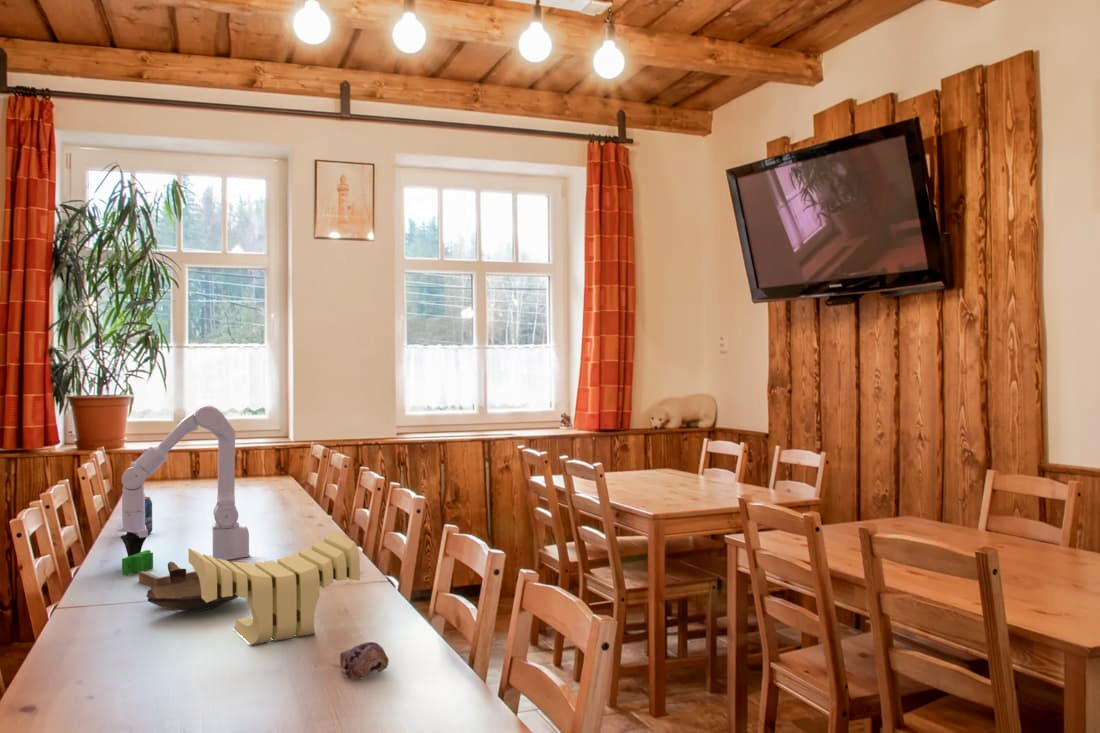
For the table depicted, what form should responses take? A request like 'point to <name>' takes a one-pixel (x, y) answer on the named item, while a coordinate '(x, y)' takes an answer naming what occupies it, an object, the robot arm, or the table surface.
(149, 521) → the soda can
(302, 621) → the slatted curved stool
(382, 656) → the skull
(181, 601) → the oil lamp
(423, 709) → the table surface
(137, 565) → the pipe clamp
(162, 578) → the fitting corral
